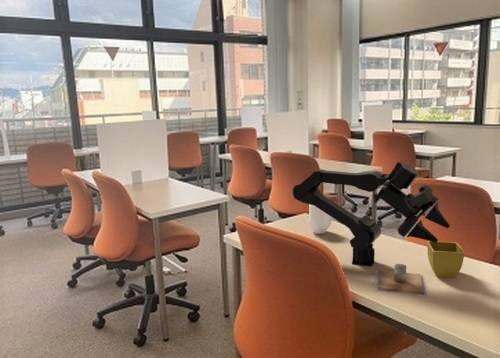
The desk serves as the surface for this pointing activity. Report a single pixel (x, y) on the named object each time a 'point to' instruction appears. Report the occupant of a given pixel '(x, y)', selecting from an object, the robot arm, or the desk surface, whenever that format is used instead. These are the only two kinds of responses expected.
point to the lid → (400, 280)
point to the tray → (400, 292)
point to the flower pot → (445, 258)
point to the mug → (318, 220)
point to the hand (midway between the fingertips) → (443, 233)
